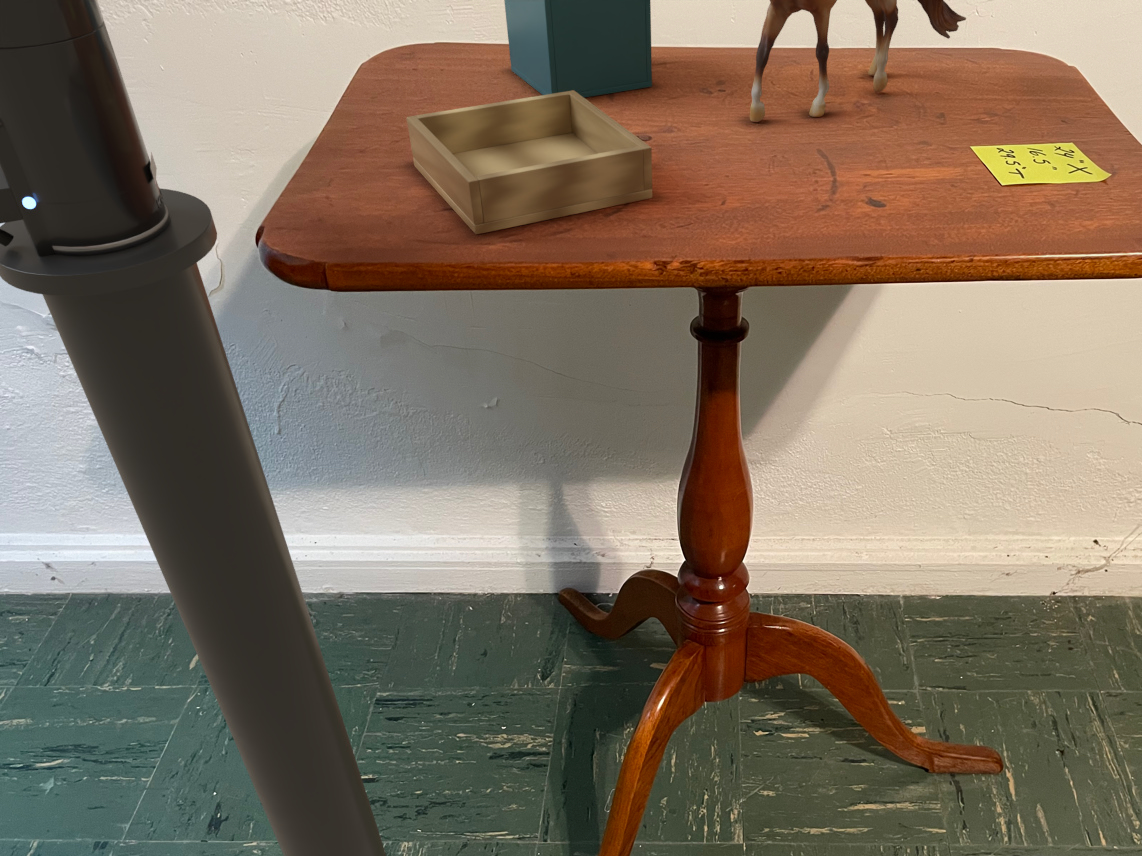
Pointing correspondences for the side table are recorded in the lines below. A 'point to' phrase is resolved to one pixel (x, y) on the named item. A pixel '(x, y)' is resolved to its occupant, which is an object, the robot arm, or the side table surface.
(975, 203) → the side table surface
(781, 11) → the horse figurine
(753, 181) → the side table surface
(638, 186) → the box
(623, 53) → the teal upright container
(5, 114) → the robot arm
